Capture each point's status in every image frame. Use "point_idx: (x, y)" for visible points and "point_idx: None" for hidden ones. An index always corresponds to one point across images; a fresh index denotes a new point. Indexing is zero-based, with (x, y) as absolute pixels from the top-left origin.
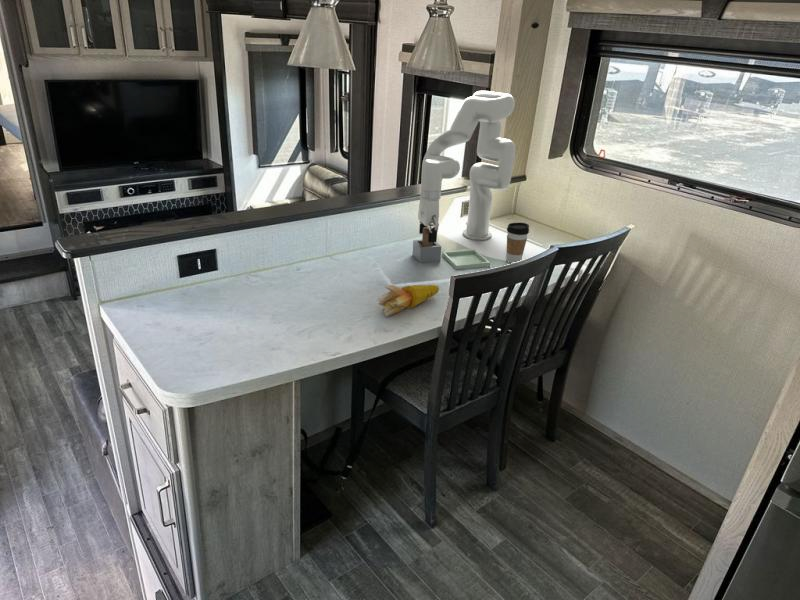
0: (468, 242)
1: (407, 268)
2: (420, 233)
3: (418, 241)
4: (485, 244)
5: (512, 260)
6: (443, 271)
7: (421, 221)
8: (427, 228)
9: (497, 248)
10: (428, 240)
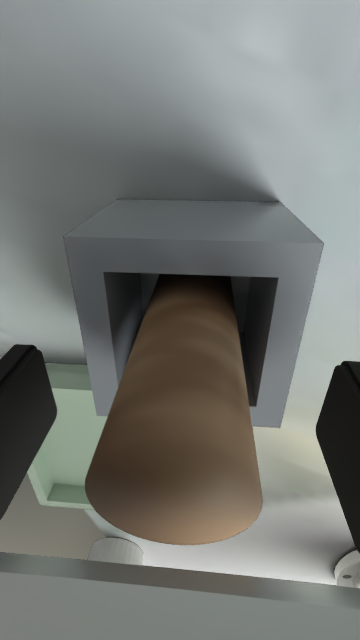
0: (344, 524)
1: (63, 65)
2: (336, 367)
3: (275, 289)
4: (292, 552)
5: (92, 552)
6: (14, 307)
7: (164, 630)
8: (176, 493)
9: (238, 560)
10: (6, 355)
